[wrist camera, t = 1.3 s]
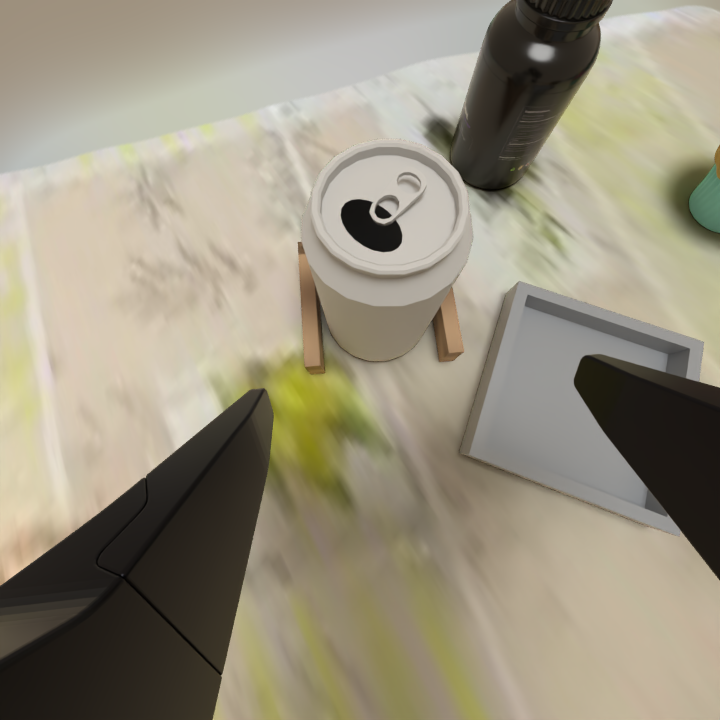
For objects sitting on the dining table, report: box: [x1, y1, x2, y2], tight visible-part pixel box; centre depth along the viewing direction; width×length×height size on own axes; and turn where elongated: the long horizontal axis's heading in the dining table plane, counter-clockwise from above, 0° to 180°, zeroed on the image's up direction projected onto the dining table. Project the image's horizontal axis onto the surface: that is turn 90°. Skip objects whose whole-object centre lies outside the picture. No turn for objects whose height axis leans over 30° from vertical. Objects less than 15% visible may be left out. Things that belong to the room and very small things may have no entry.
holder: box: [298, 242, 464, 374], centre depth 22 cm, size 9×10×2 cm
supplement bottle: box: [450, 0, 613, 189], centre depth 21 cm, size 7×7×12 cm
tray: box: [459, 281, 704, 537], centre depth 21 cm, size 13×13×2 cm
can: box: [301, 139, 473, 361], centre depth 17 cm, size 8×8×12 cm
